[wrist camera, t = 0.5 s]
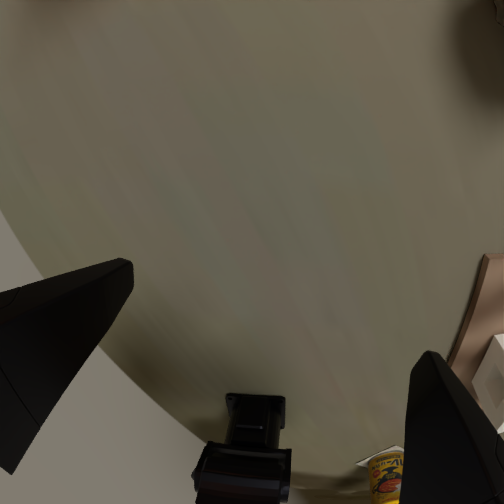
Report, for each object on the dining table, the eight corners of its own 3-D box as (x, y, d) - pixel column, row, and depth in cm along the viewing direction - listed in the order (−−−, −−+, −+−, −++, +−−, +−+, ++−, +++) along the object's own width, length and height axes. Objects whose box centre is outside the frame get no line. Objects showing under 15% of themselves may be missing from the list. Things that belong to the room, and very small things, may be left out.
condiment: (394, 444, 34) (403, 514, 24) (418, 455, 36) (428, 516, 25) (355, 462, 37) (357, 528, 27) (382, 472, 39) (387, 530, 28)
